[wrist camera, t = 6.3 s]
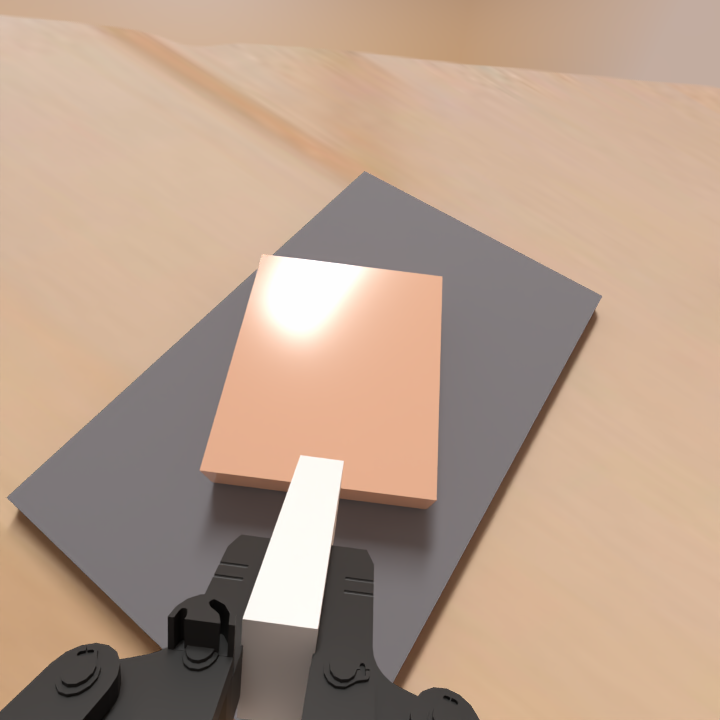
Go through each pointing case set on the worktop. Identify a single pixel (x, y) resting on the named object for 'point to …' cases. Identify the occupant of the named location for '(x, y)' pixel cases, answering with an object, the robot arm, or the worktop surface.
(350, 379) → the tile
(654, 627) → the worktop surface
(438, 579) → the mat
